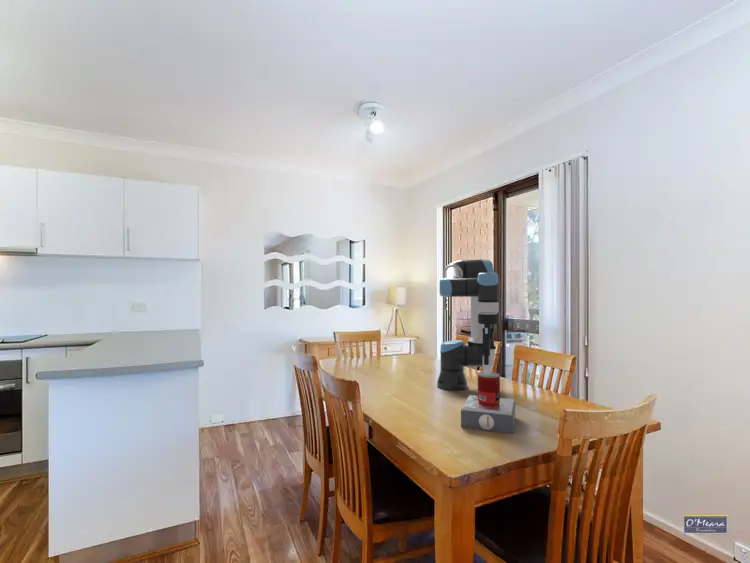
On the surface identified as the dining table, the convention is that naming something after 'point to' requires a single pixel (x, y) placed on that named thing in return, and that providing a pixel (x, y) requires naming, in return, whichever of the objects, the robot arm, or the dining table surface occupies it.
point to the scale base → (488, 421)
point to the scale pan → (502, 408)
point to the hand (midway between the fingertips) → (488, 369)
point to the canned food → (489, 388)
